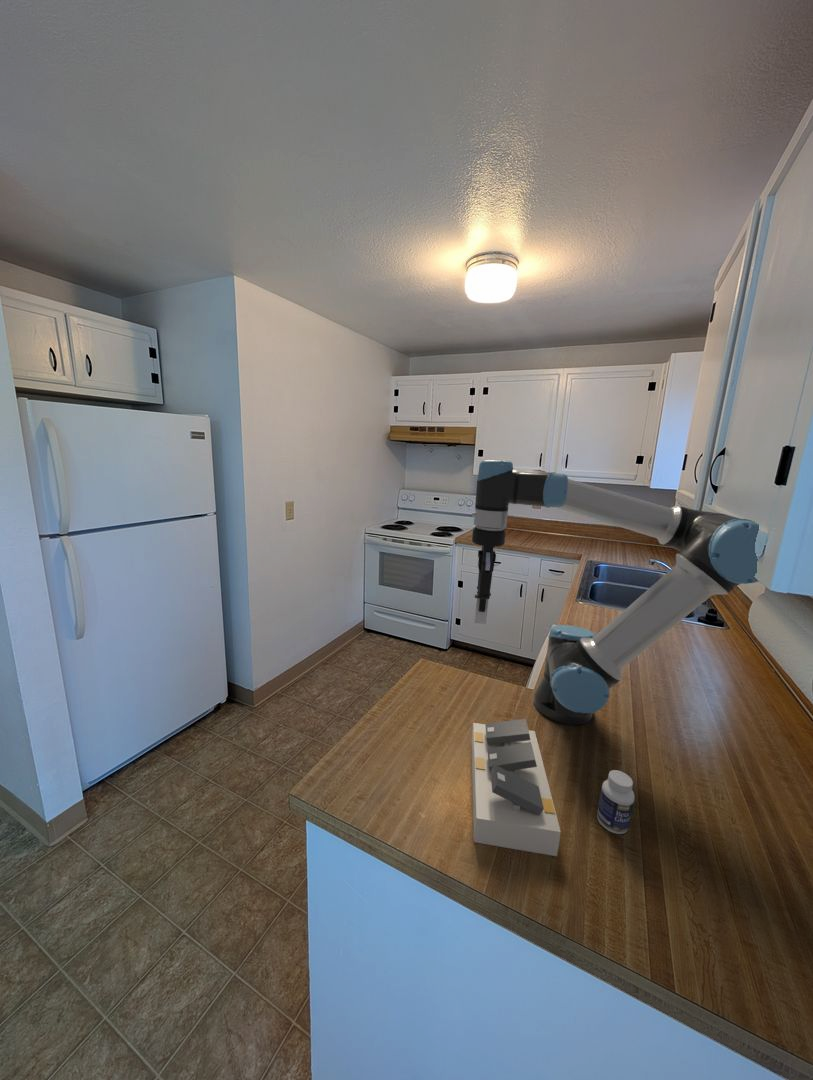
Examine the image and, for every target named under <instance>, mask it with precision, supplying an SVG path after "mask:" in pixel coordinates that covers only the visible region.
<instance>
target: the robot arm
mask: <svg viewBox="0 0 813 1080" xmlns="http://www.w3.org/2000/svg"><path fill="white" fill-rule="evenodd" d="M513 466H514V464H513V462H512V461H511V460H509V461H508V460H492V459H484V460H481V462H480V463H479V466H478V471H477V472H478V474H477V478H476V491H475V503H474V505H475V506H474V508H475V509H474V510H475V511H472V513H471V516H472V517H474V518H473V525H474V527H473V528H472V536H471V541H472V544H474V545H477V546H481V549H478V552H477V553H478V554H477V557H478V559H477V561H478V562H477V566H478V577H477V586H476V589H477V591H476V593H477V594H474V599H476V602H475V612H474V623H475V624H483V625H486V624H487V617H488V607H489V599H491V598H490V597H491V596H492V593H491V589H492V588H491V585H492V579H493V573H494V568H495V562H496V559H497V558H496V557H497V554H496V551H494V548H495V547H496V548H500V547H503V546H504V545H505V543H506V533H507V531H506V530H505V528H507V525H508V524H507V523H508V518H509V517H508V516H509V505H510V504H513V505H526V506H535V507H546V508H547V509H548V508H558V509H561V510H564V511H567V512H570V513H575V514H576V515H581V516H584V517H586V518H590V519H594V520H596V521H600V522H603V523H606V524H609V525H612V526H616V527H619V528H623V529H626V530H630V531H632V532H635V533H638V534H641V535H644V536H648V537H652V538H655V539H657V541H658V543H659V544H660V545H662V546H667V547H669V548H672V549H674V550H676V551H678V552H677V553H676V554H675V561H676V562H675V565H674V566H673V567H672V568H671V569H670V570H669V571H667V572H666V573H665V574H664V575H663V576H662V577H660V578H659V579H657V581H656V582H655V583H654V584H652V585H651V586H650V587H649V588H648V589H647V590H646V591H644V592H643V593H642V594H641V595H640V596H639V597H638V598H636V600H634V601H633V602H631V604H629V606H628V607H626V608H625V609H624V610H622V612H620V613H619V614H618V615H617V616H615V618H614V619H612V620H611V621H610V622H609V623H607V625H606V626H605V627H604V628H602V629H601V630H600V631H599V632H597V633H594V632H593V631H591V630H589V629H586V628H583V627H579V626H574V625H567V624H556V625H554V626H551V628H550V629H549V630H550V631H549V634H548V636H547V637H548V642H547V649H546V655H545V656H546V657H545V664H544V672H543V677H542V678H541V680H540V682H539V683H538V685H537V688H536V689H535V692H534V694H533V695H534V696H533V704H534V707H535V708H536V710H537V711H538V712H539V713H540V714H541V715H543V716H545V717H546V718H548V719H550V720H552V721H555V722H557V723H560V724H564V725H569V726H570V725H571V726H581V725H585V724H587V723H589V722H590V721H591V720H592V718H593V714H594V713H596V712H598V711H600V710H602V709H603V708H604V707H605V706H606V704H607V703H608V701H609V697H610V689H612V688H613V687H614V686H615V685H616V684H618V683H619V682H620V681H621V680H622V679H623V669H624V668H625V667H626V666H627V665H629V664H630V663H631V662H632V661H633V660H635V659H636V658H637V657H638V656H640V655H641V654H642V653H643V652H644V651H646V650H647V649H648V648H649V647H650V646H652V645H653V644H654V643H655V642H657V641H658V640H659V639H660V638H662V637H663V636H665V634H667V633H668V632H669V631H670V630H671V629H672V628H673V627H675V626H677V624H679V623H681V621H682V620H684V619H685V618H686V617H688V615H690V614H691V613H692V612H694V610H696V609H697V608H698V607H699V606H701V605H702V604H703V603H704V602H706V601H707V600H708V599H710V598H711V597H712V596H715V595H728V594H729V593H730V592H732V591H733V590H735V589H736V588H737V587H738V586H739V585H740V584H742V585H746V584H747V585H748V584H754V583H758V582H759V581H758V580H757V579H756V578H755V577H754V576H755V574H756V573H757V561H758V559H757V556H756V553H755V542H756V537H757V534H758V531H759V524H760V523H758V522H756V521H755V522H756V523H755V522H754V520H752V519H747V518H740V517H736V516H733V515H729V514H726V513H719V512H712V511H705V510H698V509H693V508H687V507H684V506H681V505H674V506H671V507H668V506H664V505H660V504H658V503H657V504H656V503H653V502H651V501H648V500H644V499H640V498H637V497H633V496H629V495H625V494H622V493H620V492H615V491H612V490H608V489H605V488H602V487H598V486H595V485H591V484H588V483H584V482H581V481H577V480H574V479H571V478H569V477H568V475H567V474H565V473H559V472H553V471H551V472H550V471H549V472H548V471H544V470H541V469H534V470H531V471H530V470H529V471H527V470H526V471H525V470H516V469H514V467H513ZM757 523H758V524H757Z"/></svg>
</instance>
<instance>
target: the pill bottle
mask: <svg viewBox="0 0 813 1080" xmlns="http://www.w3.org/2000/svg"><path fill="white" fill-rule="evenodd" d="M633 781H634V780H633V779H632V778H631V776H630V775H628V774H627V773H625V772H623V771H621V770H616V769H613V770H610V771H609V773H608V777H607V779H605V780H604V781H603V782H602V784H601V785H602V786H601V790H600V795H599V800H598V801H599V802H598V806H597V809H596V810H597V811H596V817H597V821H598V822H599V824H600V825H601V826H602V827H603V828H604V829H606V831H608V832H611V833H613V834H617V835H623V834H625V833H627V832H628V830H629V828H630V822H631V820H632V819H631V817H632V813H633V809H634V805H635V804H634V803H635V799H636V797H635V793H634V791H633V785H634V782H633Z"/></svg>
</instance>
